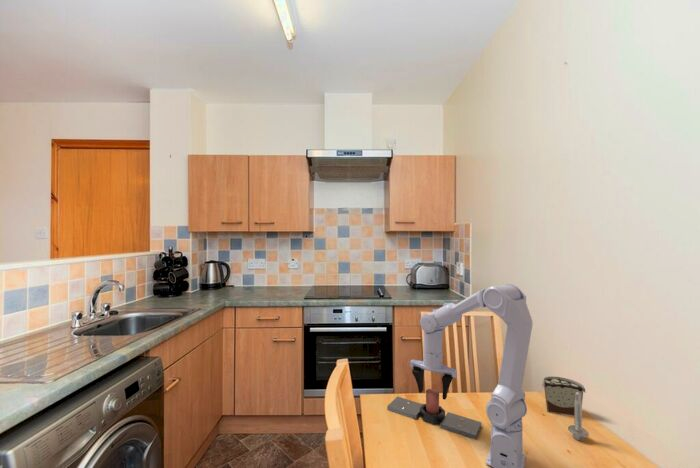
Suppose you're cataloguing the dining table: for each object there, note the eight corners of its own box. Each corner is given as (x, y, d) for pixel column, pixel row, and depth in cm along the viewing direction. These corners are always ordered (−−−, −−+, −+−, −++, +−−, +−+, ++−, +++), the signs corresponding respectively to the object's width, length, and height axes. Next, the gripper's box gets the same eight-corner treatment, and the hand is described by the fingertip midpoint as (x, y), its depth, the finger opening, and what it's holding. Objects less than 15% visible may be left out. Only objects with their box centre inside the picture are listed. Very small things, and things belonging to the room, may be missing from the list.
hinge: (475, 439, 87) (475, 430, 87) (387, 409, 102) (387, 401, 102) (481, 426, 94) (481, 417, 94) (397, 399, 109) (397, 392, 109)
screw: (569, 440, 88) (566, 431, 92) (590, 445, 85) (586, 436, 90) (569, 393, 88) (566, 386, 92) (590, 397, 86) (586, 390, 90)
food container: (577, 408, 105) (577, 378, 106) (586, 417, 100) (585, 386, 100) (536, 402, 109) (536, 373, 109) (542, 411, 103) (542, 381, 103)
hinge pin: (436, 422, 95) (436, 396, 95) (424, 418, 97) (424, 392, 98) (440, 416, 98) (440, 391, 99) (428, 412, 101) (428, 387, 101)
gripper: (459, 352, 98) (459, 396, 97) (415, 343, 106) (415, 384, 105) (453, 358, 92) (453, 405, 92) (407, 349, 100) (407, 392, 100)
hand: (432, 394), depth 98 cm, fingers open, 7 cm apart
